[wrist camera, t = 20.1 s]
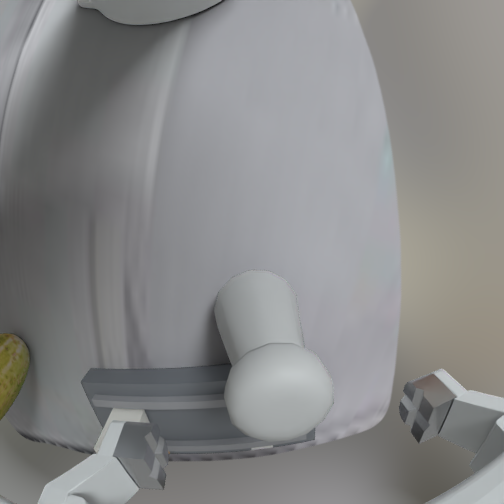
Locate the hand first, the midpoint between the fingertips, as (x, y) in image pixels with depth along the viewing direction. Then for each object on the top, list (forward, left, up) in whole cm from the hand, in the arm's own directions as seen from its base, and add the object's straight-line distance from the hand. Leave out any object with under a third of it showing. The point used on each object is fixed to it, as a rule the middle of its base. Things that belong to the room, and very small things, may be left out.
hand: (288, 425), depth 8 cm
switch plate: (+11, -6, -14) cm, 19 cm away
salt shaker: (+1, 0, -15) cm, 14 cm away
